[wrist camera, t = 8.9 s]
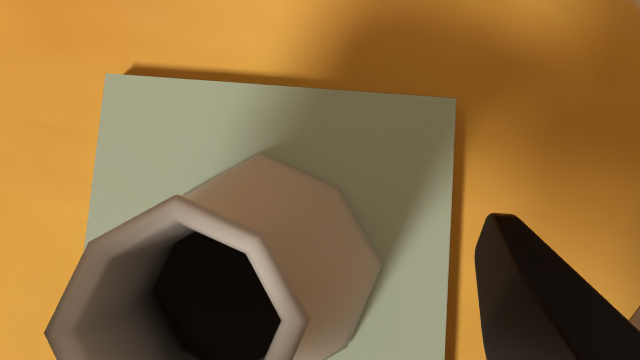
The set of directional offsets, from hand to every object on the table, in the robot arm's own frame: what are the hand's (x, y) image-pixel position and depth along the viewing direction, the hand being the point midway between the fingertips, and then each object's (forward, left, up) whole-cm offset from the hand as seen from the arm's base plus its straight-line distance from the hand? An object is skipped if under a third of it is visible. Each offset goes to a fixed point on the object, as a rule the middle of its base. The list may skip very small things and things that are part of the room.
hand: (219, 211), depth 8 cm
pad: (-1, +1, -9) cm, 9 cm away
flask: (-1, +1, -8) cm, 8 cm away
